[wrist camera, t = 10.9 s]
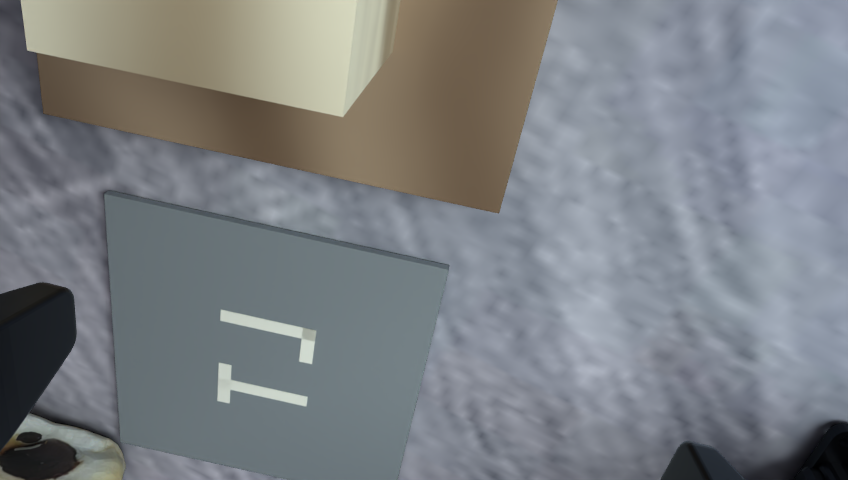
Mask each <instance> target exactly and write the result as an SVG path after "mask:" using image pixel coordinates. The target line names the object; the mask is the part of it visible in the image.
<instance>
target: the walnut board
mask: <svg viewBox="0 0 848 480" xmlns="http://www.w3.org/2000/svg"><path fill="white" fill-rule="evenodd" d="M557 1H558V0H401V1H400V7H399V14H398V20H397V27H396V33H395V40H394V46H393V52H392V53H391V54H390V56H389V57H388V58H387V60H386V61H385V62H384V64H383V65H382V66H381V68H380V69H379V70H378V72H377V73H376V74H375V76H374V77H373V78H372V79H371V81H370V82H369V83H368V85H367V86H366V87H365V89H364V90H363V91H362V93H361V94H360V95H359V97H358V98H357V99H356V101H355V102H354V103H353V105H352V106H351V107H350V108H349V110H348V111H347V112H346V114H345V115H344V116H343V117H340V116H335V115H331V114H326V113H321V112H316V111H312V110H307V109H302V108H297V107H293V106H288V105H283V104H278V103H274V102H269V101H264V100H259V99H255V98H250V97H245V96H241V95H236V94H231V93H226V92H222V91H217V90H212V89H207V88H203V87H198V86H193V85H188V84H184V83H179V82H174V81H169V80H165V79H160V78H155V77H150V76H146V75H141V74H136V73H131V72H127V71H122V70H117V69H113V68H108V67H103V66H98V65H94V64H89V63H84V62H79V61H75V60H70V59H65V58H60V57H56V56H51V55H46V54H41V53H37V61H38V70H39V79H40V88H41V97H42V106H43V114H47V115H52V116H57V117H61V118H66V119H70V120H75V121H79V122H84V123H88V124H93V125H98V126H102V127H107V128H111V129H116V130H120V131H125V132H129V133H134V134H139V135H143V136H148V137H152V138H157V139H161V140H166V141H170V142H175V143H180V144H184V145H189V146H193V147H198V148H202V149H207V150H212V151H216V152H221V153H225V154H230V155H234V156H239V157H243V158H248V159H253V160H257V161H262V162H266V163H271V164H275V165H280V166H284V167H289V168H294V169H298V170H303V171H307V172H312V173H316V174H321V175H326V176H330V177H335V178H339V179H344V180H348V181H353V182H357V183H362V184H367V185H371V186H376V187H380V188H385V189H389V190H394V191H398V192H403V193H408V194H412V195H417V196H421V197H426V198H430V199H435V200H439V201H444V202H449V203H453V204H458V205H462V206H467V207H471V208H476V209H481V210H485V211H490V212H494V213H499V212H500V208H501V204H502V201H503V197H504V193H505V190H506V186H507V183H508V179H509V175H510V172H511V168H512V164H513V161H514V157H515V154H516V150H517V146H518V143H519V139H520V135H521V132H522V128H523V125H524V121H525V117H526V114H527V110H528V106H529V103H530V99H531V96H532V92H533V88H534V85H535V81H536V77H537V74H538V70H539V67H540V63H541V59H542V56H543V52H544V48H545V45H546V41H547V38H548V34H549V30H550V27H551V23H552V19H553V16H554V12H555V9H556V5H557Z"/></svg>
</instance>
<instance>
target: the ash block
mask: <svg viewBox="0 0 848 480" xmlns="http://www.w3.org/2000/svg"><path fill="white" fill-rule="evenodd" d="M400 1H401V0H21V6H22V14H23V22H24V30H25V38H26V46H27V51H32V52H37V53H41V54H46V55H51V56H56V57H60V58H65V59H70V60H75V61H79V62H84V63H89V64H94V65H98V66H103V67H108V68H113V69H117V70H122V71H127V72H131V73H136V74H141V75H146V76H150V77H155V78H160V79H165V80H169V81H174V82H179V83H184V84H188V85H193V86H198V87H203V88H207V89H212V90H217V91H222V92H226V93H231V94H236V95H241V96H245V97H250V98H255V99H259V100H264V101H269V102H274V103H278V104H283V105H288V106H293V107H297V108H302V109H307V110H312V111H316V112H321V113H326V114H331V115H335V116H340V117H343V116H344V115H345V114H346V112H347V111H348V110H349V108H350V107H351V106H352V105H353V103H354V102H355V101H356V99H357V98H358V97H359V95H360V94H361V93H362V91H363V90H364V89H365V87H366V86H367V85H368V83H369V82H370V81H371V79H372V78H373V77H374V76H375V74H376V73H377V72H378V70H379V69H380V68H381V66H382V65H383V64H384V62H385V61H386V60H387V58H388V57H389V56H390V54H391V53H392V52H393V46H394V40H395V33H396V27H397V20H398V14H399V7H400Z"/></svg>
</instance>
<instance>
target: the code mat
mask: <svg viewBox="0 0 848 480" xmlns="http://www.w3.org/2000/svg"><path fill="white" fill-rule="evenodd" d="M104 202H105V217H106V232H107V247H108V262H109V277H110V292H111V307H112V322H113V337H114V353H115V368H116V383H117V398H118V413H119V428H120V442H121V443H126V444H130V445H135V446H139V447H144V448H148V449H153V450H157V451H162V452H166V453H171V454H175V455H179V456H184V457H188V458H193V459H197V460H202V461H206V462H211V463H215V464H220V465H224V466H229V467H233V468H238V469H242V470H247V471H251V472H256V473H260V474H265V475H269V476H274V477H278V478H283V479H287V480H398V476H399V472H400V467H401V463H402V459H403V455H404V451H405V447H406V443H407V439H408V435H409V431H410V426H411V422H412V418H413V414H414V410H415V406H416V402H417V398H418V394H419V390H420V386H421V381H422V377H423V373H424V369H425V365H426V361H427V357H428V353H429V349H430V345H431V340H432V336H433V332H434V328H435V324H436V320H437V316H438V312H439V308H440V304H441V300H442V295H443V291H444V287H445V283H446V279H447V275H448V271H449V265H445V264H441V263H436V262H432V261H427V260H423V259H418V258H413V257H409V256H404V255H400V254H395V253H391V252H386V251H382V250H377V249H373V248H368V247H363V246H359V245H354V244H350V243H345V242H341V241H336V240H332V239H327V238H323V237H318V236H313V235H309V234H304V233H300V232H295V231H291V230H286V229H282V228H277V227H273V226H268V225H263V224H259V223H254V222H250V221H245V220H241V219H236V218H232V217H227V216H223V215H218V214H214V213H209V212H204V211H200V210H195V209H191V208H186V207H182V206H177V205H173V204H168V203H164V202H159V201H154V200H150V199H145V198H141V197H136V196H132V195H127V194H123V193H118V192H114V191H107V192H106V193H105V194H104Z"/></svg>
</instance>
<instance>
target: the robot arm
mask: <svg viewBox="0 0 848 480" xmlns="http://www.w3.org/2000/svg"><path fill="white" fill-rule="evenodd" d="M76 334H77V331H76V318H75V305H74V296H73V294H72V292H71V290H69V289H68V288H66V287H62V286H58V285H54V284H50V283H44V282H42V283H36V284H33V285H29V286H26V287H23V288H19V289H16V290H12V291H9V292H6V293H2V294H0V452H1V450H2V449H3V448H4V447H5V445H6V444H7V443H8V442H9V440H10V439H11V438H12V436H13V435H14V434H15V432H16V431H17V430H18V428H19V427H20V425H21V424H22V423H23V421H24V420H25V418H26V417H27V415H28V414H29V412H30V411H31V409H32V408H33V406H34V405H35V403H36V402H37V401H38V399H39V398H40V396H41V395H42V393H43V392H44V390H45V389H46V387H47V386H48V384H49V383H50V381H51V380H52V378H53V377H54V375H55V374H56V372H57V371H58V370H59V368H60V367H61V365H62V364H63V362H64V361H65V359H66V358H67V356H68V355H69V353H70V352H71V350H72V348H73V346H74V344H75V341H76ZM843 437H845V438H843ZM841 438H842V439H841ZM661 480H745V479H744V478H743V477H742V476H741V475H740V474H739V473H738V472H737V471H736V470H735V468H734V467H733V466H732V465H731V464H730V463H729V462H728V461H727V460H726V459H725V458H724V457H723V456H722V455H721V454H720V453H719V452H718V451H717V450H716V449H715V448H713V447H711V446H708V445H704V444H699V443H695V442H691V441H685V442H683V443H682V444H681V445H680V446H679V447H678V449H677V451H676V452H675V454H674V456H673V458H672V460H671V462H670V463H669V465H668V467H667V469H666V471H665V473H664V474H663V476H662V478H661ZM794 480H848V424H845V423H841V424H836V425H834V426H832V427H831V428H830V429H829V430H828V431H827V432H826V434H825V435H824V436H823V438H822V439H821V441H820V442H819V444H818V445H817V447H816V448H815V449H814V451H813V452H812V454H811V455H810V457H809V458H808V460H807V461H806V462H805V464H804V465H803V467H802V468H801V470H800V471H799V473H798V474H797V475H796V477H795V478H794Z"/></svg>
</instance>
